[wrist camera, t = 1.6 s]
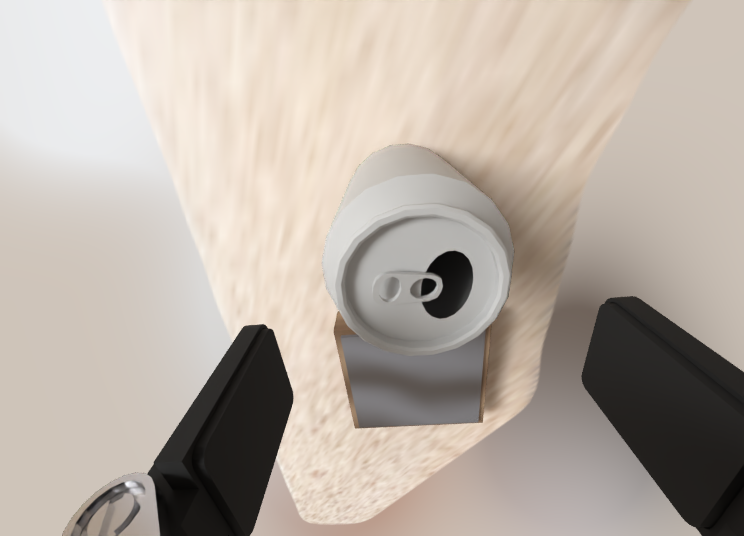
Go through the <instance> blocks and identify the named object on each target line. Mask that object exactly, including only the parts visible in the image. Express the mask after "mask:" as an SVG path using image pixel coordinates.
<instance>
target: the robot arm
mask: <svg viewBox="0 0 744 536" xmlns="http://www.w3.org/2000/svg"><path fill="white" fill-rule="evenodd" d="M582 382H583V385H584V387H585V389H586V390H587V391H588V393H589V394H590V395H591V397H592V398H593V399H594V401H595V402H596V403H597V405H598V406H599V407H600V409H601V410H602V411H603V413H604V414H605V415H606V417H607V418H608V419H609V421H610V422H611V423H612V425H613V426H614V427H615V429H616V430H617V431H618V433H619V434H620V435H621V437H622V438H623V439H624V441H625V442H626V443H627V445H628V446H629V447H630V449H631V450H632V451H633V453H634V454H635V455H636V457H637V458H638V459H639V461H640V462H641V463H642V465H643V466H644V467H645V469H646V470H647V471H648V473H649V474H650V475H651V477H652V478H653V479H654V480H655V482H656V483H657V485H658V486H659V487H660V489H661V490H662V491H663V493H664V494H665V495H666V497H667V498H668V499H669V501H670V502H671V503H672V505H673V506H674V507H675V509H676V510H677V511H678V513H679V514H680V515H681V517H682V518H683V519H684V520H685V521H686V522H687V523H688V524H689V525H691V526H693V527H696V528H697V530H698V531H699V532H700V534H701V535H702V536H744V372H743V371H741V370H740V369H738V368H737V367H736V366H734V365H733V364H731V363H730V362H729V361H727V360H726V359H724V358H723V357H721V356H720V355H719V354H717V353H716V352H714V351H713V350H712V349H710V348H709V347H707V346H706V345H704V344H703V343H702V342H700V341H699V340H697V339H696V338H694V337H693V336H692V335H690V334H689V333H687V332H686V331H685V330H683V329H682V328H680V327H679V326H677V325H676V324H675V323H673V322H672V321H670V320H669V319H668V318H666V317H665V316H663V315H662V314H660V313H659V312H657V311H656V310H655V309H653V308H652V307H650V306H649V305H648V304H646V303H645V302H643V301H642V300H641V299H639V298H637V297H633V296H630V297H617V298H610V299H608V300H607V301H606V302H605V304H602V305H601V306H600V308H599V311H598V315H597V319H596V323H595V326H594V330H593V334H592V338H591V342H590V345H589V349H588V353H587V357H586V361H585V365H584V368H583V372H582ZM292 404H293V391H292V388H291V385H290V381H289V378H288V375H287V372H286V369H285V366H284V363H283V360H282V357H281V353H280V350H279V347H278V344H277V341H276V338H275V335H274V332H273V330H272V329H268V328H267V326H266V325H264V324H261V325H248V326H244V327H243V328H242V330H241V331H240V333H239V334H238V336H237V337H236V339H235V340H234V342H233V343H232V345H231V346H230V348H229V349H228V351H227V352H226V354H225V355H224V357H223V358H222V360H221V362H220V363H219V364H218V366H217V367H216V369H215V370H214V372H213V373H212V375H211V376H210V378H209V379H208V381H207V383H206V384H205V385H204V387H203V389H202V390H201V392H200V393H199V395H198V396H197V398H196V399H195V401H194V402H193V404H192V405H191V407H190V408H189V410H188V411H187V413H186V414H185V416H184V417H183V419H182V420H181V422H180V423H179V425H178V426H177V428H176V429H175V431H174V432H173V434H172V435H171V437H170V438H169V440H168V441H167V443H166V444H165V446H164V448H163V449H162V451H161V452H160V453H159V455H158V456H157V458H156V459H155V461H154V465H153V466H152V468H151V469H150V471H149V472H148V474H145V473H132V474H128V475H124V476H122V477H120V478H118V479H116V480H114V481H112V482H110V483H109V484H107V485H105V486H104V487H103V488H101V489H100V490H98V491H97V492H96V493H95V494H93V495H92V496H91V497H90V498H89V499H88V500H87V501H86V502H85V503H84V504H83V505H82V506H81V507H80V508H79V510H78V511H77V512H76V513H75V514H74V515H73V517H72V518H71V520H70V521H69V523H68V525H67V526H66V528H65V530H64V531H63V534H62V536H250V534H251V533H252V531H253V529H254V526H255V523H256V520H257V517H258V514H259V510H260V507H261V504H262V501H263V498H264V494H265V491H266V488H267V485H268V482H269V478H270V475H271V472H272V469H273V465H274V462H275V459H276V456H277V453H278V449H279V446H280V443H281V440H282V437H283V433H284V430H285V427H286V424H287V421H288V417H289V414H290V411H291V408H292Z"/></svg>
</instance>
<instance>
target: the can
mask: <svg viewBox="0 0 744 536" xmlns="http://www.w3.org/2000/svg"><path fill="white" fill-rule="evenodd" d="M513 258H514V247H513V242H512V238H511V233H510V228H509V224H508V223H507V221H506V220H505V218H504V217H503V215H502V214H501V212H500V211H499V209H498V208H497V207H496V205H495V204H494V202H493V201H492V199H490V198H489V197H488V196H487V195H486V194H484V193H483V192H482V191H481V190H480V189H478V188H477V187H476V186H475V185H474V184H472V183H471V182H470V181H469V180H468V179H466V178H465V177H464V176H463V175H462V174H460V173H459V172H458V171H457V170H456V169H454V168H453V167H452V166H451V165H450V164H448V163H447V162H446V161H445V160H444V159H442V158H441V157H439V156H438V155H436V154H435V153H434V152H432V151H431V150H429V149H428V148H424V147H420V146H416V145H412V144H400V145H390V146H388V147H385V148H383V149H381V150H378V151H376V152H374V153H372V154H371V155H370V156H369V157H368V158H367V159H366V160H364V161H363V162H362V163H361V164H360V165H359V166H358V168H357V170H356V171H355V173H354V175H353V177H352V178H351V180H350V182H349V184H348V187H347V189H346V191H345V194H344V196H343V198H342V201H341V203H340V206H339V208H338V210H337V213H336V215H335V217H334V220H333V222H332V225H331V227H330V229H329V232H328V234H327V237H326V242H325V248H324V253H323V259H322V267H323V273H324V279H325V284H326V289H327V291H328V292H329V294H330V296H331V298H332V299H333V301H334V303H335V305H336V307H337V308H338V310H339V312H340V314H341V315H342V317H343V319H344V321H345V322H346V324H347V326H348V327H349V328H351V329H352V330H353V331H354V332H355V333H356V334H357V335H358V336H359V337H361V338H362V339H363V340H364V341H366V342H368V343H370V344H372V345H374V346H376V347H378V348H380V349H382V350H384V351H388V352H393V353H398V354H403V355H408V356H415V355H434V354H438V353H441V352H445V351H449V350H452V349H456V348H458V347H460V346H462V345H464V344H465V343H467V342H469V341H471V340H472V339H474V338H476V337H478V336H479V335H480V334H481V333H482V332H483V331H484V330H485V329H486V328H487V327H488V326H489V325H490V324H492V323H493V322H494V321H495V320H496V319H497V317H498V315H499V313H500V311H501V309H502V308H503V306H504V304H505V302H506V300H507V298H508V295H509V289H510V283H511V276H512V265H513Z"/></svg>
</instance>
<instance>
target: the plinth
mask: <svg viewBox="0 0 744 536" xmlns="http://www.w3.org/2000/svg"><path fill="white" fill-rule="evenodd" d="M334 335H335V340H336V344H337V349H338V353H339V358H340V362H341V367H342V371H343V376H344V380H345V385H346V389H347V394H348V399H349V403H350V408H351V412H352V417H353V421H354V426H355V428H376V427H397V426H419V425H440V424H462V423H483V413H484V402H485V391H486V380H487V368H488V357H489V346H490V335H491V324H490V325H489V326H488V327H487V328H486V329H485V330H484V331H483V332H482V333H481V334H480V335H479V336H478V337H476V338H474V339H472V340H471V341H469V342H467V343H465V344H464V345H462V346H460V347H458V348H456V349H452V350H449V351H445V352H441V353H438V354H434V355H415V356H408V355H403V354H398V353H393V352H388V351H384V350H382V349H380V348H378V347H376V346H374V345H372V344H370V343H368V342H366V341H364V340H363V339H362V338H361V337H359V336H358V335H357V334H356V333H355V332H354V331H353V330H352V329H351V328H349V327H348V326H347V324H346V322H345V321H344V319H343V317H342V315H341V314H340V312H339V311H338V313H337V317H336V322H335V327H334Z"/></svg>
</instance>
